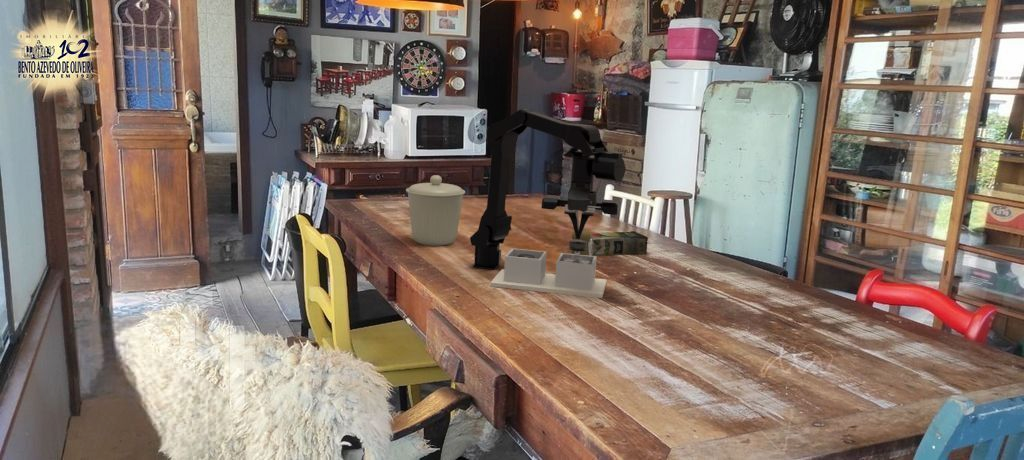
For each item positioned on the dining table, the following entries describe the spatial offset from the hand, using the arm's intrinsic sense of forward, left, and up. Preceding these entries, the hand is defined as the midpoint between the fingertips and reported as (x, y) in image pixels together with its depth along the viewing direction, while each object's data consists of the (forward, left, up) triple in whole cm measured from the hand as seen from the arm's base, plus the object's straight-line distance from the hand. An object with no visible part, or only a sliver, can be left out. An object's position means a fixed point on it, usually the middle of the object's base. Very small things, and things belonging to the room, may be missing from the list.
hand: (578, 238), depth 183 cm
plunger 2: (0, 0, -6) cm, 6 cm away
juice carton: (+6, +45, -13) cm, 47 cm away
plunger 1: (-13, 0, -11) cm, 17 cm away
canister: (-48, +34, -13) cm, 60 cm away
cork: (-1, +19, -13) cm, 23 cm away
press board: (-6, 0, -13) cm, 14 cm away
